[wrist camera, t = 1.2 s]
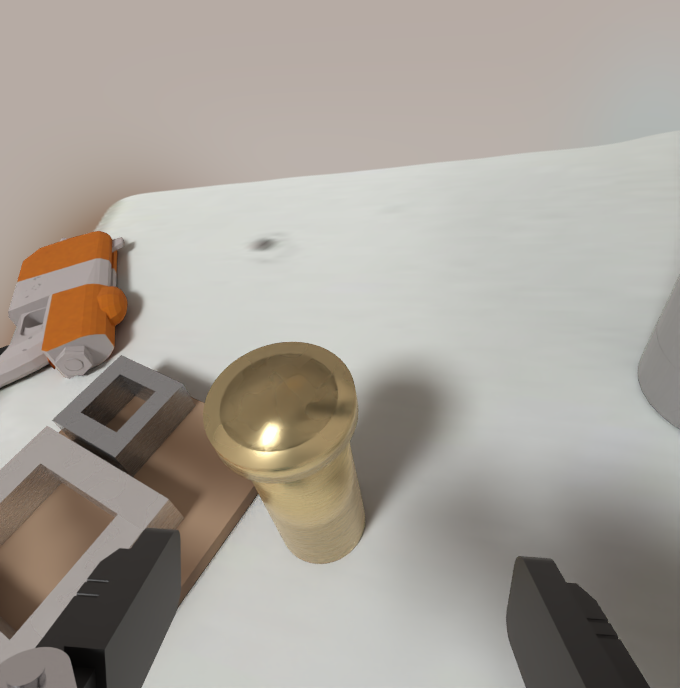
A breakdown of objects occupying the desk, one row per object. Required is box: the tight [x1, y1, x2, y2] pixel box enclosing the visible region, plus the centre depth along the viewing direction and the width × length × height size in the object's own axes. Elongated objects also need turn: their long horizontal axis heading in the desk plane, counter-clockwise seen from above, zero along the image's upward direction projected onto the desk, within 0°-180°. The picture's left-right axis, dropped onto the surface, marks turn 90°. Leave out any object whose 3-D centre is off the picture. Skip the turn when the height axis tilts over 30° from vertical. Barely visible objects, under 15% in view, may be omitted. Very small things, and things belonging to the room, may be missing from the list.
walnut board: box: [0, 396, 258, 632], centre depth 32 cm, size 18×15×1 cm
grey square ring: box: [52, 355, 196, 477], centre depth 35 cm, size 6×6×2 cm
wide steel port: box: [0, 426, 184, 664], centre depth 29 cm, size 11×11×2 cm
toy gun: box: [0, 231, 128, 388], centre depth 46 cm, size 3×19×15 cm
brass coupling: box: [203, 342, 365, 564], centre depth 26 cm, size 6×6×12 cm
